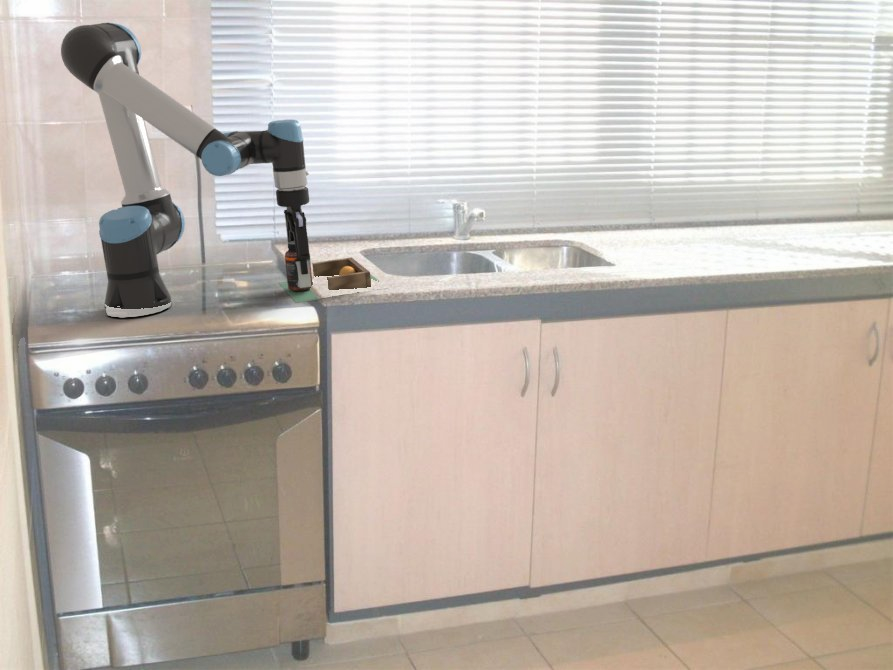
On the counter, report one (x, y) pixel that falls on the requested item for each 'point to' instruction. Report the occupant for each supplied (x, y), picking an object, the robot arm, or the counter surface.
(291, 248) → the supplement bottle
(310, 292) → the pitch mat
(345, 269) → the ball
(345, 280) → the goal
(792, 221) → the counter surface
